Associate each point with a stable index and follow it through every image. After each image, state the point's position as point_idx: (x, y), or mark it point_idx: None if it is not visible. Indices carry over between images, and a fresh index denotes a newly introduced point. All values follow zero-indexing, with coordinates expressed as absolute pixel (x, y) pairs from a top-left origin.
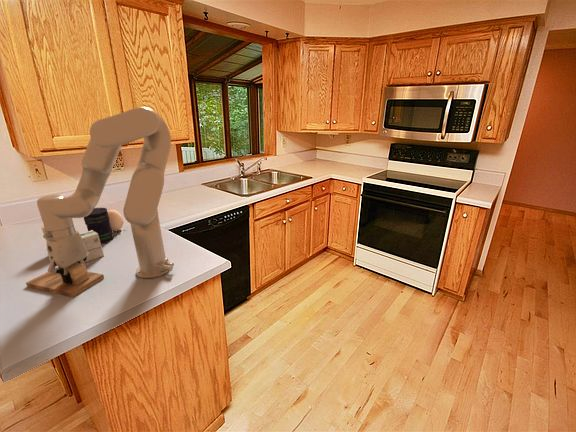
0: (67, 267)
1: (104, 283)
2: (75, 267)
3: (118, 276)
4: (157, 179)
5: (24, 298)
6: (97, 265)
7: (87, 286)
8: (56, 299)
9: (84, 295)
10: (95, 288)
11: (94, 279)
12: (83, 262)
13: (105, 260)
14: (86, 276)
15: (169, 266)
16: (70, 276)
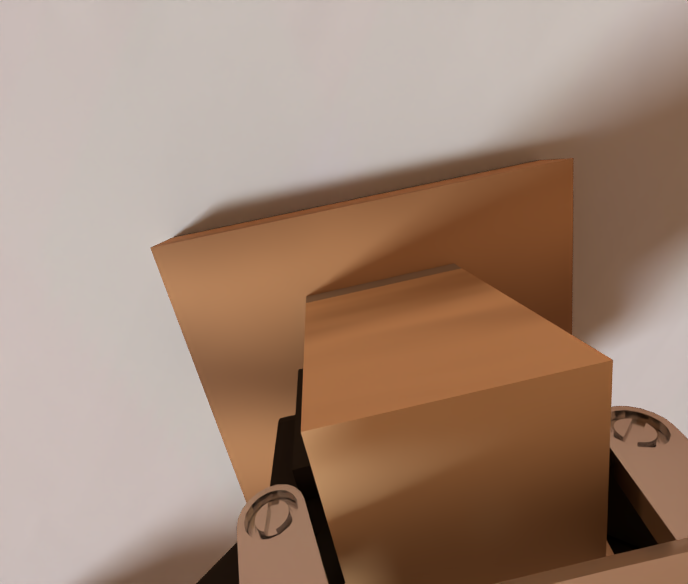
0: (665, 525)
1: (226, 116)
2: (490, 455)
3: (33, 112)
4: None
5: None
6: (103, 532)
7: (380, 196)
8: (606, 269)
9: (477, 78)
10: (340, 107)
11: (278, 226)
12: (267, 542)
13: (7, 562)
14: (331, 306)
15: None
16: None
